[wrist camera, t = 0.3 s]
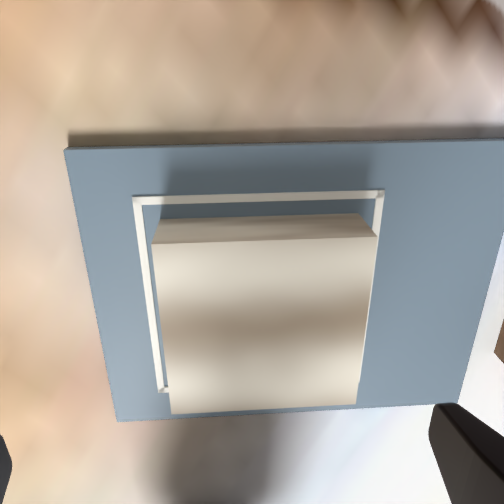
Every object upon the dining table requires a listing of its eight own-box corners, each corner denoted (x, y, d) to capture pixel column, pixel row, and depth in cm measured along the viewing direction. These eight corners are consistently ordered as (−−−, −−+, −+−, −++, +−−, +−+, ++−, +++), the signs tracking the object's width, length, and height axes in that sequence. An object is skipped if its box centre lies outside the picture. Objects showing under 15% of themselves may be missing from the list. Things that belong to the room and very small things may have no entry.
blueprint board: (453, 396, 29) (458, 404, 28) (119, 414, 27) (116, 423, 27) (520, 138, 21) (529, 140, 21) (67, 147, 20) (62, 150, 19)
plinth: (341, 367, 26) (355, 404, 23) (176, 375, 26) (171, 414, 23) (358, 213, 22) (377, 236, 19) (159, 219, 21) (151, 244, 19)
